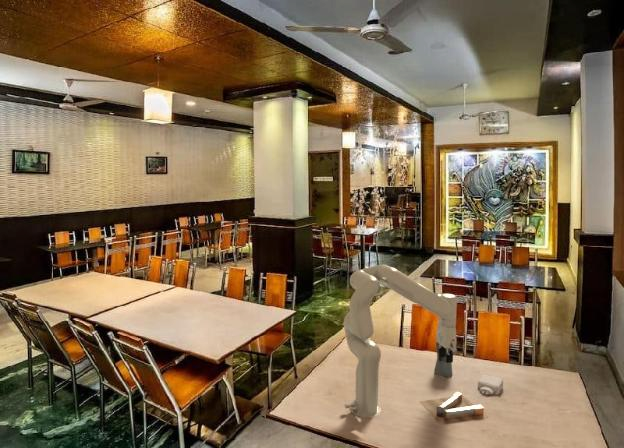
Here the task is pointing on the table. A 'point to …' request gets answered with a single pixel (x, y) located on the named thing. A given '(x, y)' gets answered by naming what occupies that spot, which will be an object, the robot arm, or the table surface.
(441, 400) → the board
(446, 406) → the tong leg
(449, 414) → the bar
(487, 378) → the charger
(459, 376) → the table surface
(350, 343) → the robot arm
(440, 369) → the moka pot
